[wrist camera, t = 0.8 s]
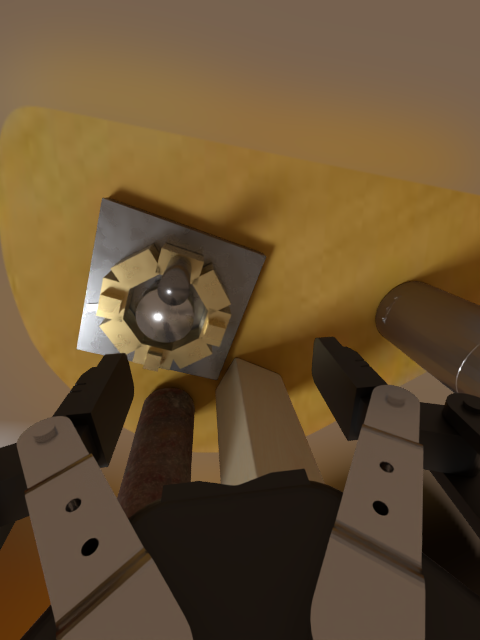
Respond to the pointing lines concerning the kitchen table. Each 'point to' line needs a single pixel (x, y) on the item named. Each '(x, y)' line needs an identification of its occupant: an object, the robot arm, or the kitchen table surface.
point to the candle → (158, 449)
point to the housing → (150, 311)
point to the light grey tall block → (258, 427)
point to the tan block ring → (173, 291)
